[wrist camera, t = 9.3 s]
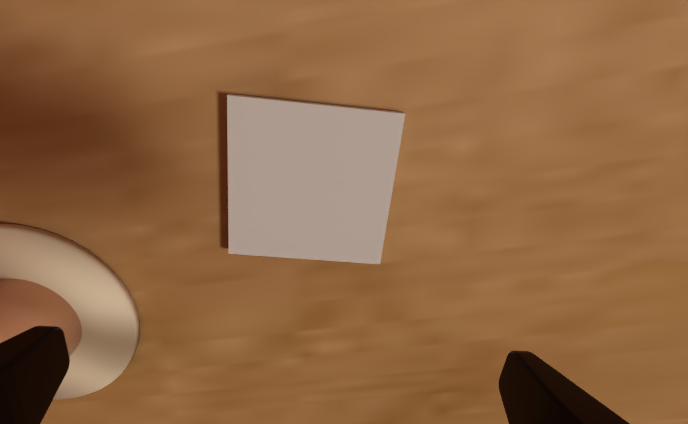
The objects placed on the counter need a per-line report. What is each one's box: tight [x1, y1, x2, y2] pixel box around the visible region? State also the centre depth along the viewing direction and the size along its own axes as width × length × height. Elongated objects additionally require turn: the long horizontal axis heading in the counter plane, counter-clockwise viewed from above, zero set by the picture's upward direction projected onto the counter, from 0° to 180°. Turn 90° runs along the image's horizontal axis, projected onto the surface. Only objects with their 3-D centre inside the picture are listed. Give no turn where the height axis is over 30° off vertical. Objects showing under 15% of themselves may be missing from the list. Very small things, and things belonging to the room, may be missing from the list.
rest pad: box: [227, 94, 405, 264], centre depth 17 cm, size 7×7×1 cm
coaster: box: [0, 223, 140, 400], centre depth 19 cm, size 10×10×1 cm
